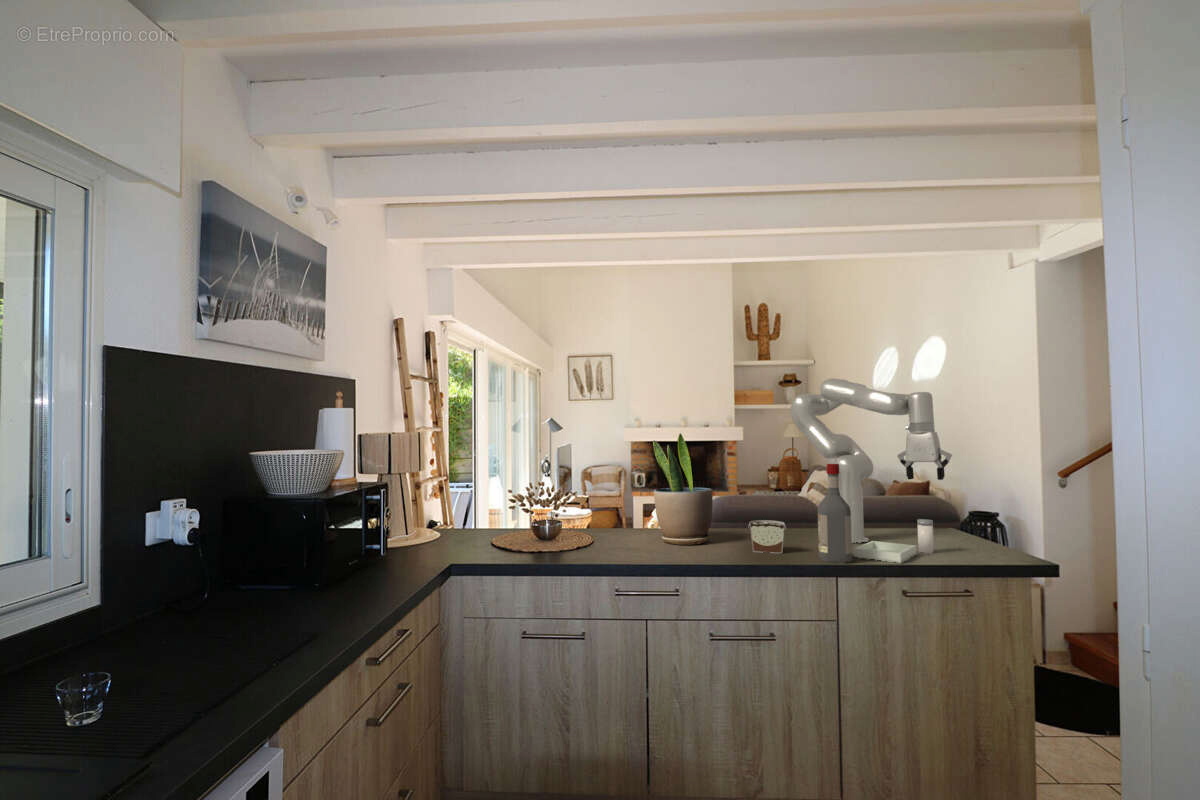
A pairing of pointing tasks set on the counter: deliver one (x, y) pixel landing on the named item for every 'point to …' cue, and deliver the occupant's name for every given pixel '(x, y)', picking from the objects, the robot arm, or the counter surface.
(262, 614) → the counter surface
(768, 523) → the food container
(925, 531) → the shaker
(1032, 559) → the counter surface
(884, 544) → the tray
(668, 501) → the potted plant
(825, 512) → the liquor
